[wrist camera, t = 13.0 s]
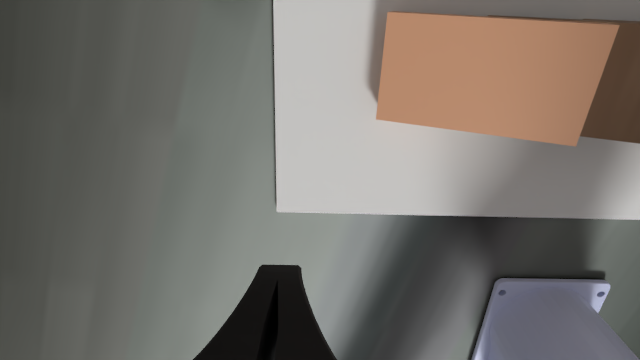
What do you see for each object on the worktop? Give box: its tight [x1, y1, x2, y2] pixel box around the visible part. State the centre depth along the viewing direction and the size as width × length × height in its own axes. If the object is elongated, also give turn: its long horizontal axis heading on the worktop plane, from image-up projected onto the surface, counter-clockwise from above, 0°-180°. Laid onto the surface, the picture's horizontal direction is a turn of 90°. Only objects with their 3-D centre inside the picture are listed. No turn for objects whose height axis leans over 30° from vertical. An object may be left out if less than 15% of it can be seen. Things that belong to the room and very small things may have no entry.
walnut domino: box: [488, 15, 640, 144], centre depth 18 cm, size 2×5×9 cm
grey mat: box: [273, 0, 640, 220], centre depth 21 cm, size 16×30×1 cm, turn 88°
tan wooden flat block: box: [376, 11, 620, 147], centre depth 18 cm, size 2×5×9 cm
